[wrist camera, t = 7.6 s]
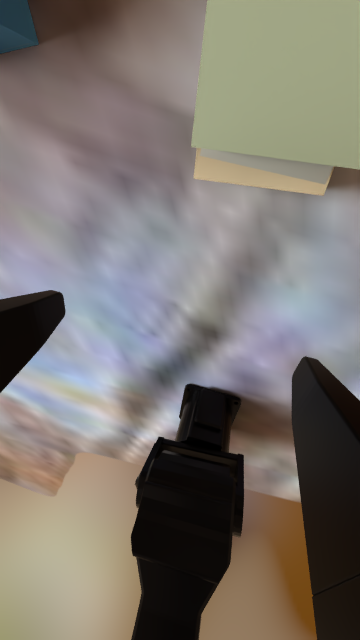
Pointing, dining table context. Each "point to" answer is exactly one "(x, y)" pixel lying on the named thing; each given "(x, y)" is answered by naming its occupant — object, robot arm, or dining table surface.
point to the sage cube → (281, 80)
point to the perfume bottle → (16, 26)
